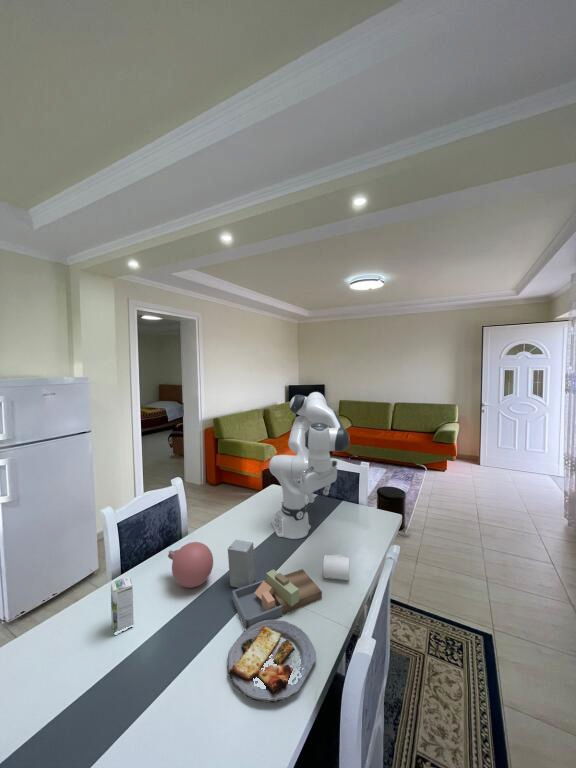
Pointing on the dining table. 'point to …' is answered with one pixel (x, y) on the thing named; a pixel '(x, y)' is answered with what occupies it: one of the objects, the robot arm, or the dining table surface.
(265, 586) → the tile
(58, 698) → the dining table surface
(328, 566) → the mug
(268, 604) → the tile
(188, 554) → the balloon
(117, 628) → the syrup box
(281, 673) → the food plate
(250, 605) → the tray
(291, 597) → the green bar
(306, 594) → the brown flat block
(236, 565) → the skincare box
